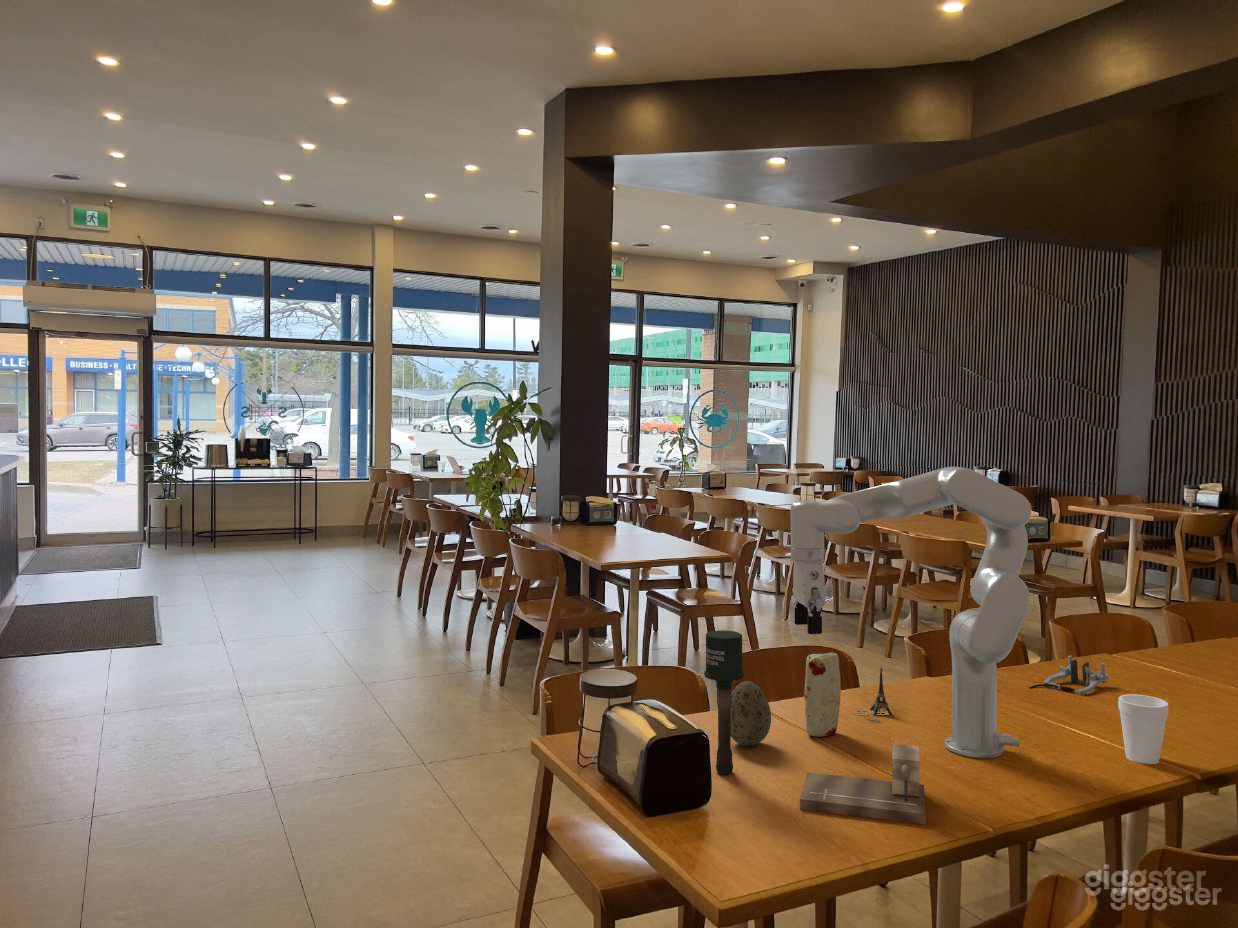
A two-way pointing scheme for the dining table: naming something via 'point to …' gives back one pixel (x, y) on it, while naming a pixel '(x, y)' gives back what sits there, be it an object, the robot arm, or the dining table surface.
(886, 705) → the eiffel tower figurine
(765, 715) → the decorative egg
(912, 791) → the block
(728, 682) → the stick grenade
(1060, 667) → the bike brake
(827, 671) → the food model
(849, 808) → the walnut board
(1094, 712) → the dining table surface
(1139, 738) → the foam cup
